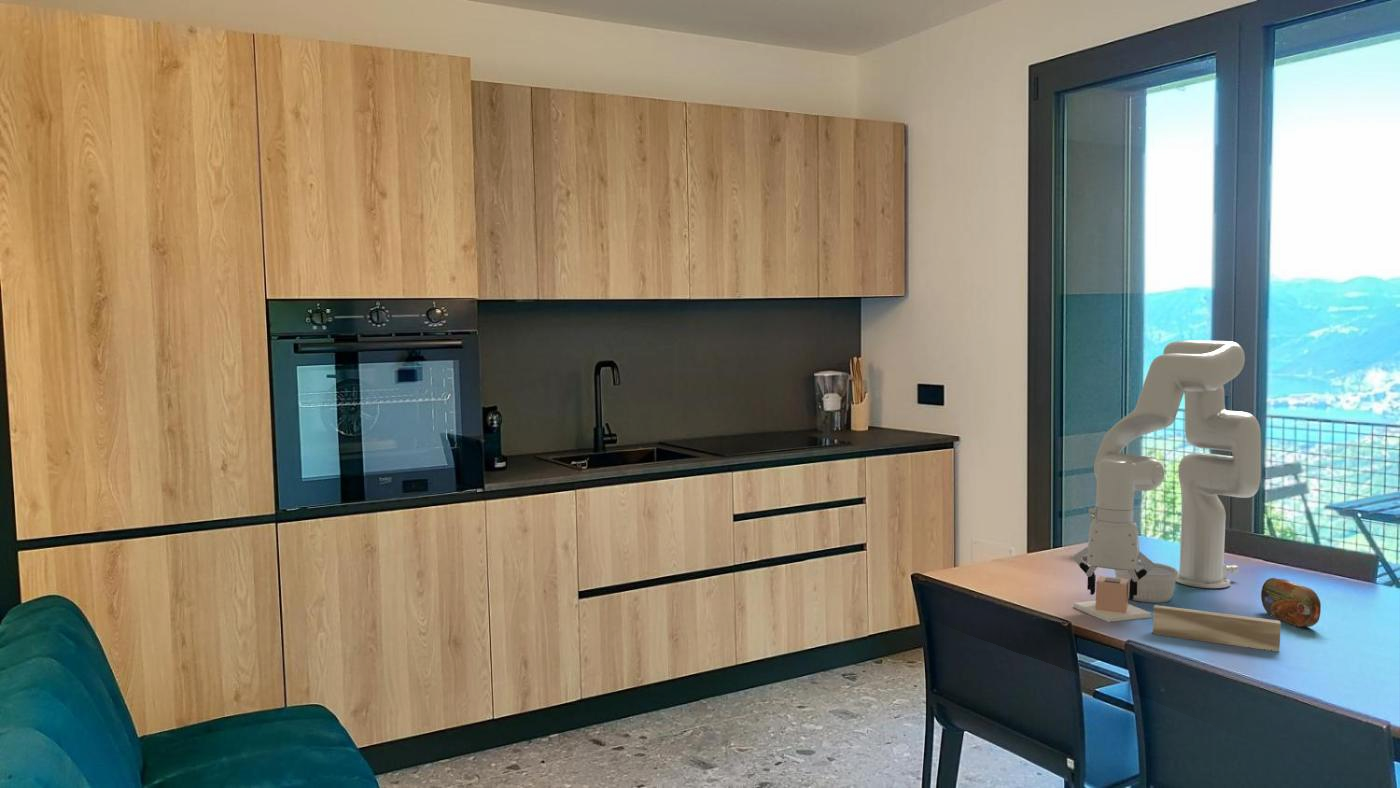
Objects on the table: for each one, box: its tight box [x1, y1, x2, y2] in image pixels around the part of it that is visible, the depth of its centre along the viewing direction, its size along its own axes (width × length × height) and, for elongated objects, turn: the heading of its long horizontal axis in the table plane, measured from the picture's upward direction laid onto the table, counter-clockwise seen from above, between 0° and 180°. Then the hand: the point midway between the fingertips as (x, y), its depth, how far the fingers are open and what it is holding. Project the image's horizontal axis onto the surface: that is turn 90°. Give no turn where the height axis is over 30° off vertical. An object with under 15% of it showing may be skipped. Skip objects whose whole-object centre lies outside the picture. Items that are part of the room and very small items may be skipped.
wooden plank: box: [1152, 604, 1282, 652], centre depth 188 cm, size 2×22×6 cm, turn 62°
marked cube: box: [1095, 575, 1129, 613], centre depth 207 cm, size 6×6×6 cm
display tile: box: [1073, 600, 1152, 623], centre depth 207 cm, size 11×11×1 cm
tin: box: [1260, 577, 1322, 628], centre depth 201 cm, size 15×3×8 cm, turn 5°
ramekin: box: [1113, 560, 1178, 604], centre depth 219 cm, size 13×13×7 cm
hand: (1111, 595), depth 207 cm, fingers open, 7 cm apart
